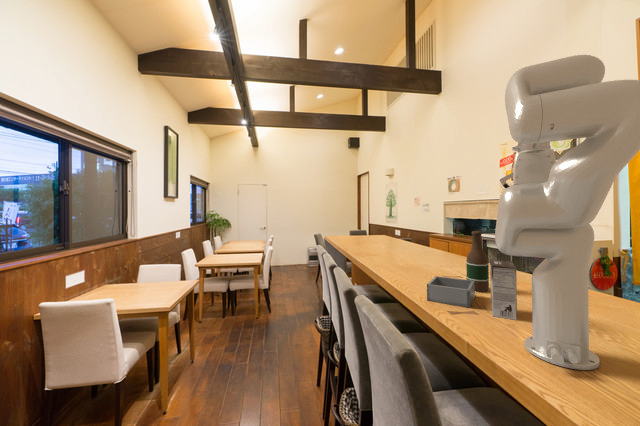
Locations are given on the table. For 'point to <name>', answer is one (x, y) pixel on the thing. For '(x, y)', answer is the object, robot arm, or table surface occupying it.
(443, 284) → the bin
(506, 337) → the table surface
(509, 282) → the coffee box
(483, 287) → the beer bottle
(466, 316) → the table surface
